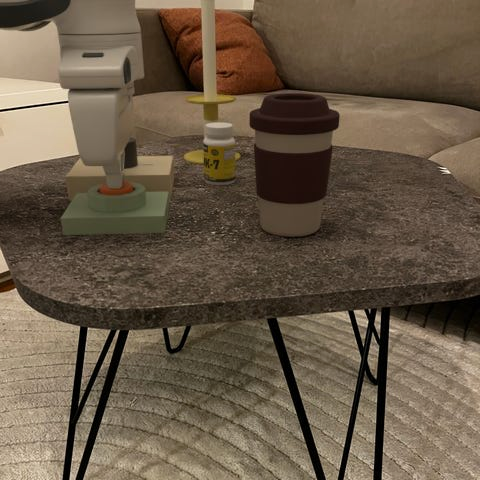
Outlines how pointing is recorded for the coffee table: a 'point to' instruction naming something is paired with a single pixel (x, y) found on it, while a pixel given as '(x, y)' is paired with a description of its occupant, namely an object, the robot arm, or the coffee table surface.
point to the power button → (124, 189)
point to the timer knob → (130, 154)
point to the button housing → (116, 212)
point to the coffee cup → (292, 161)
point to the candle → (208, 78)
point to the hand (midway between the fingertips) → (116, 185)
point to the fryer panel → (145, 173)
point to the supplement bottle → (219, 154)
